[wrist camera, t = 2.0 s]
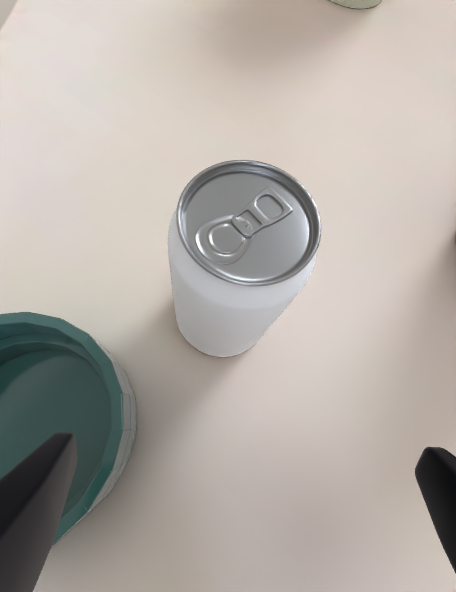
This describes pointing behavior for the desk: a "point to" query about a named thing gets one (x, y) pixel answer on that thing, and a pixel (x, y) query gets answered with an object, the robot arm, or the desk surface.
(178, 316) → the can
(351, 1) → the reusable coffee cup
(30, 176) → the desk surface
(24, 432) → the bowl
